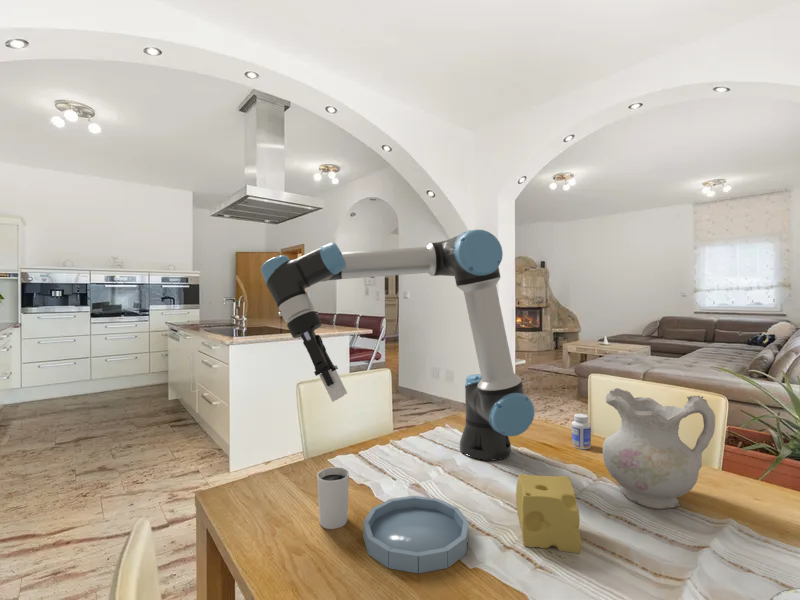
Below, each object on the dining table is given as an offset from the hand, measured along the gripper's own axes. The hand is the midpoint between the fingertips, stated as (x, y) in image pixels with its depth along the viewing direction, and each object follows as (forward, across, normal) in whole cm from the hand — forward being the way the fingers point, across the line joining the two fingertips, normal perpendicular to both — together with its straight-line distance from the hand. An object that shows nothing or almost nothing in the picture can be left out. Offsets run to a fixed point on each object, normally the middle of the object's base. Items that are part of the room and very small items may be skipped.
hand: (340, 397), depth 95 cm
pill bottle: (+49, -30, +56) cm, 80 cm away
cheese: (+43, +13, +25) cm, 51 cm away
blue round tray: (+31, +12, +2) cm, 33 cm away
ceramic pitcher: (+55, +1, +54) cm, 77 cm away
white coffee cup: (+22, +5, -12) cm, 26 cm away
